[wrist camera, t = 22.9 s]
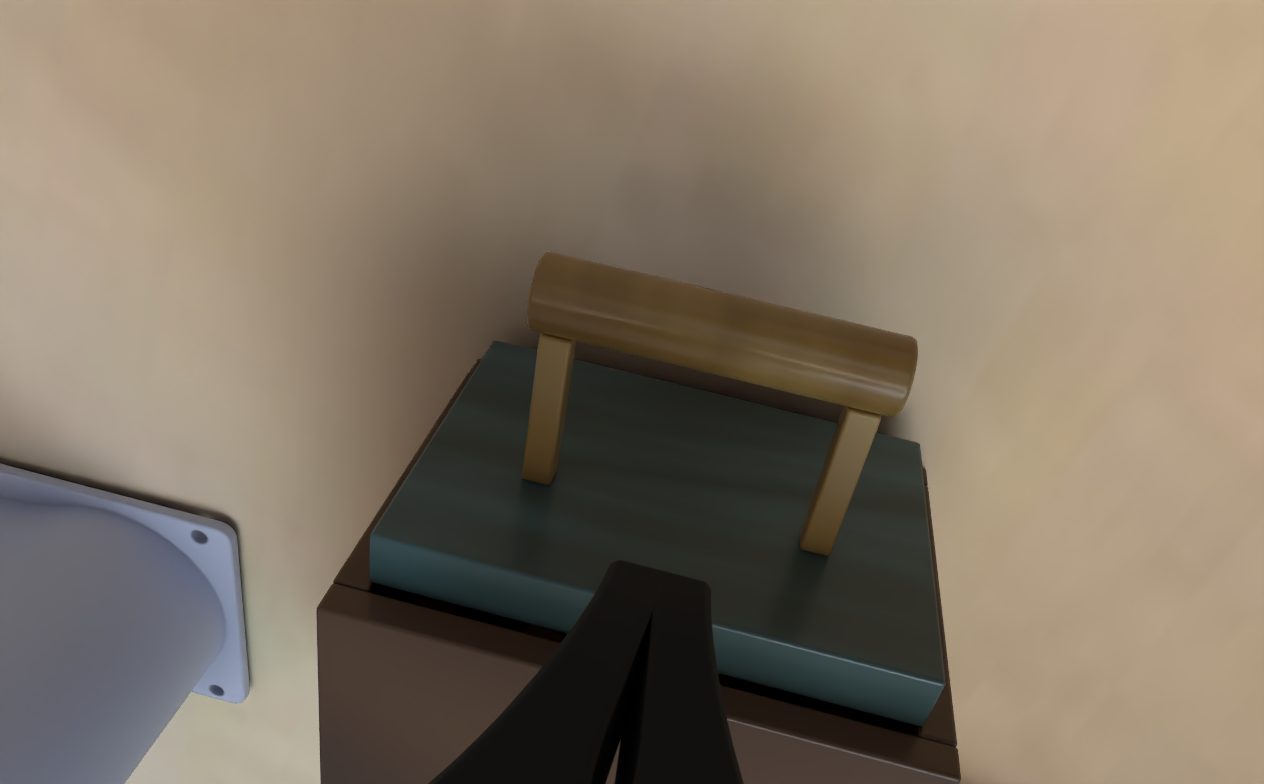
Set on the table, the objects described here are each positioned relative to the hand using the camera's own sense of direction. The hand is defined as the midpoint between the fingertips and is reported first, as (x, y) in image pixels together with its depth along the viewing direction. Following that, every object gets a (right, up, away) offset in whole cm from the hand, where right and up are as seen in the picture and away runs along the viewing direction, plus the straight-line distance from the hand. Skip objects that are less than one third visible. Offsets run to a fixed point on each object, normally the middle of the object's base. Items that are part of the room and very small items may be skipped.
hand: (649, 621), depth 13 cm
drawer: (+1, 0, +11) cm, 11 cm away
